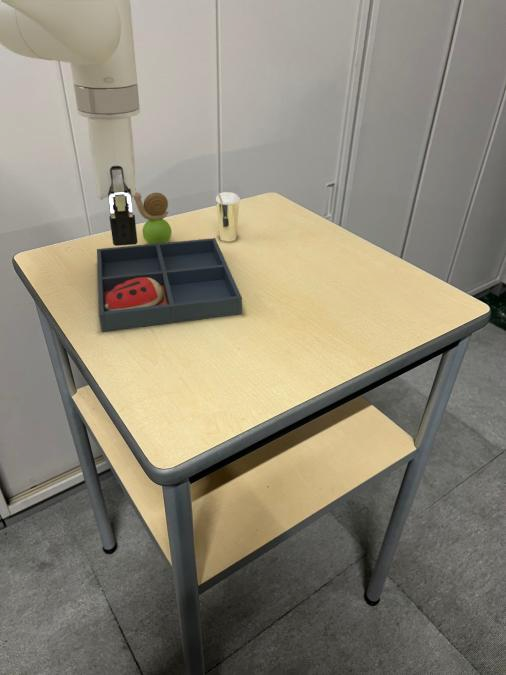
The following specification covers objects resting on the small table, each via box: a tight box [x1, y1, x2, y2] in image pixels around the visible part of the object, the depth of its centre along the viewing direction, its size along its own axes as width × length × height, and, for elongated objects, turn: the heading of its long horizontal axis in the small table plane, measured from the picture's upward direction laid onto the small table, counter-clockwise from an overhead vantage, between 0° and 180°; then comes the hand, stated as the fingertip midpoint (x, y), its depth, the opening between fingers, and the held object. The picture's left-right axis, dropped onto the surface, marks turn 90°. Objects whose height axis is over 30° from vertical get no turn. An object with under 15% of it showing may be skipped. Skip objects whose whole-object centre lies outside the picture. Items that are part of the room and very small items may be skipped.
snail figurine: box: [132, 187, 173, 244], centre depth 96 cm, size 5×6×12 cm
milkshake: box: [215, 191, 241, 243], centre depth 99 cm, size 4×5×10 cm
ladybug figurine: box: [104, 277, 164, 311], centre depth 80 cm, size 7×10×4 cm
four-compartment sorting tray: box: [96, 237, 243, 333], centre depth 86 cm, size 21×21×3 cm
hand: (123, 229), depth 73 cm, fingers open, 9 cm apart
